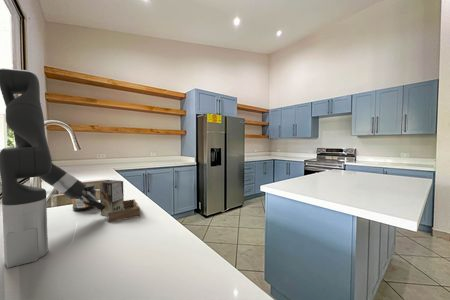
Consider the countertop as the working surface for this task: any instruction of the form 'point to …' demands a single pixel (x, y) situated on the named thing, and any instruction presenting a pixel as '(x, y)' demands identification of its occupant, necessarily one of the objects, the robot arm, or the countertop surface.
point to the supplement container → (78, 204)
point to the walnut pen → (125, 211)
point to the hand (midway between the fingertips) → (103, 208)
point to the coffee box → (111, 196)
